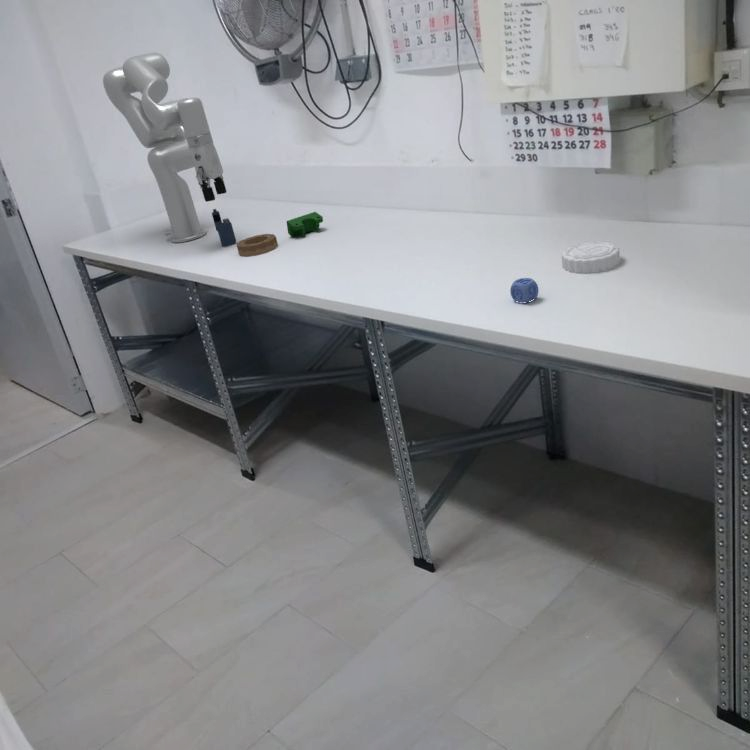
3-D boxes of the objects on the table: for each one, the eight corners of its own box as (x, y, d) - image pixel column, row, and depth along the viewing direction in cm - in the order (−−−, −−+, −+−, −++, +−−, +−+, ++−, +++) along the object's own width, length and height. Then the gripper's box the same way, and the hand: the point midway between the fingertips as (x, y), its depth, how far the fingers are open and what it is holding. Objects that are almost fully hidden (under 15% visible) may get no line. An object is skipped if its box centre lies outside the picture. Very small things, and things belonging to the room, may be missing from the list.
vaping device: (220, 246, 238) (209, 209, 233) (236, 241, 239) (225, 205, 234) (221, 247, 236) (211, 211, 231) (237, 243, 237) (227, 206, 232)
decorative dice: (524, 295, 150) (522, 276, 148) (539, 298, 147) (537, 279, 145) (511, 301, 148) (508, 283, 147) (526, 305, 145) (524, 286, 143)
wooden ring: (233, 258, 221) (231, 248, 219) (246, 246, 231) (244, 237, 230) (270, 253, 218) (268, 243, 217) (282, 241, 228) (279, 232, 227)
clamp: (303, 250, 230) (291, 230, 224) (294, 243, 234) (282, 224, 228) (330, 227, 232) (318, 207, 226) (321, 221, 236) (309, 201, 230)
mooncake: (630, 265, 154) (630, 248, 153) (577, 279, 153) (576, 262, 152) (603, 251, 165) (602, 236, 164) (553, 264, 164) (552, 248, 162)
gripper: (200, 143, 215) (217, 201, 222) (221, 134, 230) (236, 189, 237) (177, 148, 217) (194, 205, 224) (199, 139, 232) (215, 192, 239)
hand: (216, 197), depth 230 cm, fingers open, 9 cm apart
